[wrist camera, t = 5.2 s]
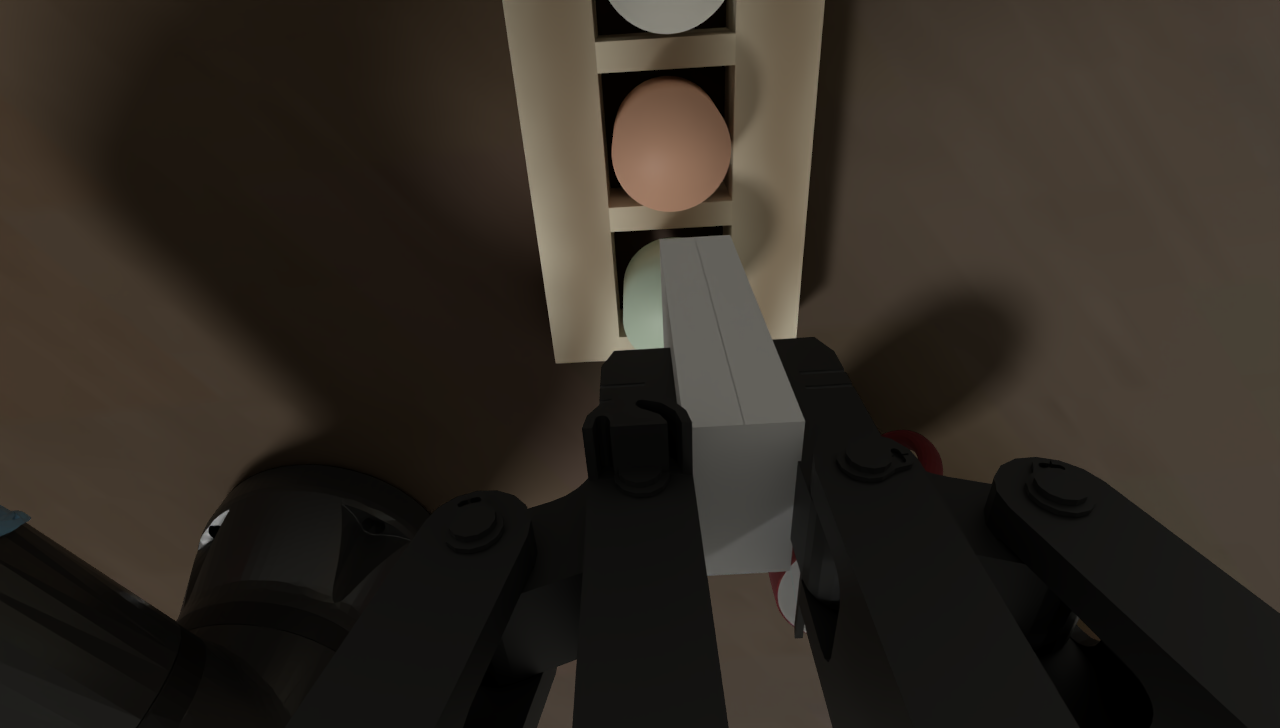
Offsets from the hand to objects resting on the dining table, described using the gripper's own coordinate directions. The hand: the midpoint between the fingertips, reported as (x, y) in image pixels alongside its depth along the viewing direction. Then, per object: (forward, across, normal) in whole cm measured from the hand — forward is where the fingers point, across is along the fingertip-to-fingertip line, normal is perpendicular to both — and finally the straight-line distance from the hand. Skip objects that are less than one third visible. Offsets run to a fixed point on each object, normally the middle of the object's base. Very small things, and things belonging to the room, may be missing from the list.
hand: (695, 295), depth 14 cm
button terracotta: (+16, 0, 0) cm, 16 cm away
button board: (+18, 0, 0) cm, 18 cm away
